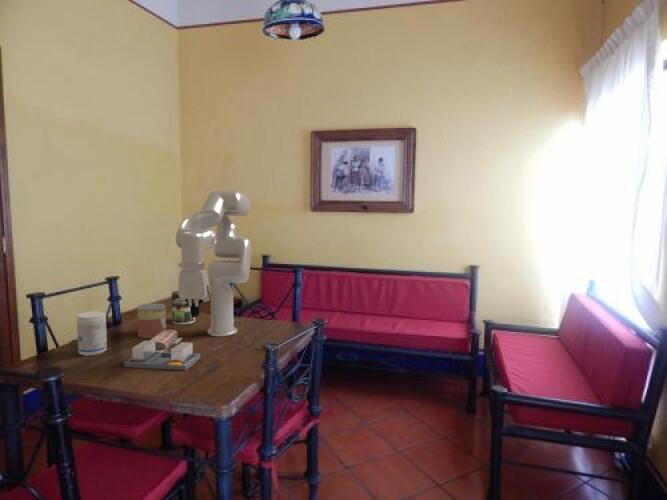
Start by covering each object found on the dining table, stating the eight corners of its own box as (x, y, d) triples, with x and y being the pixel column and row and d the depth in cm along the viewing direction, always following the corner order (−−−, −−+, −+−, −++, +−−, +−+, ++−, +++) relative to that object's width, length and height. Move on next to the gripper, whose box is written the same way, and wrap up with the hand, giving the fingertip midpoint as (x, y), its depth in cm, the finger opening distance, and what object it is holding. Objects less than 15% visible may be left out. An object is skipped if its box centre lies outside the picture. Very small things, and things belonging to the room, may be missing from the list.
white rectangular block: (182, 358, 160) (181, 342, 160) (192, 359, 160) (192, 342, 159) (171, 366, 153) (170, 349, 152) (182, 367, 152) (182, 350, 151)
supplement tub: (74, 352, 168) (72, 314, 166) (100, 346, 175) (98, 309, 174) (85, 358, 162) (83, 318, 160) (111, 351, 169) (110, 313, 167)
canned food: (162, 337, 187) (162, 309, 186) (134, 338, 186) (133, 309, 184) (168, 329, 198) (168, 303, 197) (142, 330, 197) (141, 303, 195)
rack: (142, 356, 164) (142, 349, 164) (200, 359, 162) (200, 352, 161) (123, 369, 152) (123, 360, 152) (185, 372, 150) (185, 364, 149)
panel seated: (145, 356, 162) (144, 340, 161) (155, 357, 161) (155, 341, 161) (132, 364, 154) (132, 347, 153) (143, 365, 154) (143, 348, 153)
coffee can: (189, 325, 205) (188, 295, 204) (168, 323, 207) (167, 294, 205) (199, 319, 215) (198, 290, 214) (179, 318, 217) (178, 289, 216)
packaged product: (158, 328, 185) (182, 328, 185) (158, 339, 185) (182, 340, 185) (139, 342, 167) (166, 342, 167) (140, 354, 167) (166, 355, 167)
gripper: (168, 268, 156) (171, 318, 159) (209, 269, 154) (211, 320, 157) (178, 263, 163) (180, 312, 166) (217, 265, 161) (219, 314, 165)
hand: (195, 316), depth 162 cm, fingers closed
